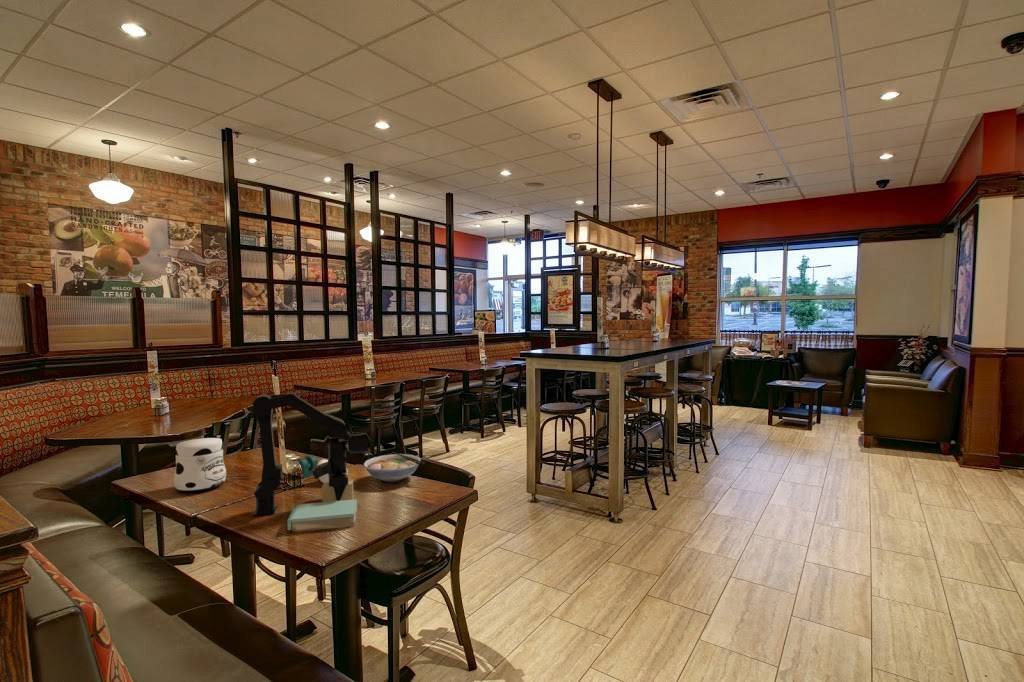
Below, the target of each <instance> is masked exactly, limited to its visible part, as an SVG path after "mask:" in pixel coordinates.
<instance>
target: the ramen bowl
mask: <svg viewBox="0 0 1024 682" xmlns="http://www.w3.org/2000/svg"><path fill="white" fill-rule="evenodd" d="M392 453H393V454H387V455H386V454H385V455H380V456H379V455H378V456H376V457H372V458H369V459H367V460H365V461H364V462H363V466H364V468H365V470H366V471H367V472H368V474H369V475H371V477H373V478H374V479H377V480H380V481H384V482H387V483H395V482H399V481H402V480H403V479H405V478H407V477H410V476H411V475H412V474H414V473H415V471H417V469H418V467H419V466H421V465H425V464H426V463H425V461H422V460H421V458H420V457H419V456H417V455H413V454H404V453H399V452H396V451H393V452H392Z"/></svg>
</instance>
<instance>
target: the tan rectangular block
mask: <svg viewBox="0 0 1024 682" xmlns="http://www.w3.org/2000/svg"><path fill="white" fill-rule="evenodd" d="M321 486H322V487H321V488H322V489H321V492H322V493H321V494H322V502H331V501H337V499H336V495H335V491H334V488H333V487H329V482H328V483H323V484H322V485H321ZM343 500H354V480H348V484H347V485H346V487H345V490H344V492H343V495H342V497H341V499H340V501H343Z"/></svg>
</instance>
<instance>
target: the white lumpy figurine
mask: <svg viewBox="0 0 1024 682" xmlns="http://www.w3.org/2000/svg"><path fill="white" fill-rule="evenodd" d="M325 462H328V459H321V460H319V461H318V464H317V466H318V465H320V464H322V463H325ZM346 471H347V473H346V475H347V476H349V471H348V467H346ZM343 474H344V473H343ZM318 480H320V482H321V483H323V484H324V483H328V482H329V475H328V473H327V474H325V475H323V476H321V477H319V478H318Z"/></svg>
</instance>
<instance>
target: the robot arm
mask: <svg viewBox="0 0 1024 682" xmlns="http://www.w3.org/2000/svg"><path fill="white" fill-rule="evenodd" d="M287 406H290V407H292V408H293V409H295V410H296V411H298V412H300V413H301V414H303V415H304V416H306V417H307V418H310V419H311V420H312V421H314V422H315V423H318V425H319V426H321V428H322V429H323V430H324V431H326V433H328V434H329V435H330V436H331V437H330V436H329V435H326V437H325V438H324V439H323V440H322V444H323V445H328V458H327V460H328V462H325V463H322V464H320V465H318V466H315V467H313V468H312V473H313V476H312V477H314V479H315V480H317V479H318V480H319V477H321V476H323V475H325V474H327V473H328V475H329V487H333V488H334V491H335V495H336V499H337V501H340V499H341V497H342V495H343V492H344V490H345V487H346V485H347V484H348V481H349V477H348V476H349V475H346V473H347V471H346V468H347V451H348V452H349V453H351V454H361V453H368V450H369V447H368V439H367V438H368V437H367V433H366V432H363V433H357V434H351V433H350V431H349V430H348V429H347V428H346V424H345V422H344V420H343V419H342V418H339V417H336V416H334V415H331V414H328V413H326V412H324V411H322V410H321V409H320V408H317V407H316V406H314V405H313V404H311V403H310V402H308V401H306V400H305V399H303V398H302V397H300V396H298V394H296V393H295V392H288V393H282V394H274V395H269V394H267V393H263V394H260V395H258V396H257V397H256V398H255V399H254V401H253V403H252V409H253V413H254V415H255V418H256V421H257V422H258V428H259V437H260V446H261V455H262V470H261V471H262V472H261V480H260V482H259V483H258V484H256V485H257V486H256V487H255V490H254V493H253V495H254V497H255V511H254V512H253V514H252V516H253V517H257V516H268V515H274V514H275V513H276V512H277V510H278V508H279V507H278V506H279V505H276V496H275V495H276V493H275V491H277V490H278V488H279V487H280V485H281V482H282V481H283V478H284V473H282V466H283V464H282V463H281V464H278V463H277V460H276V451H275V450H276V449H275V440H274V430H273V412H274V409H278V408H279V409H280V408H282V407H283V408H284V407H287ZM343 473H344V474H343Z"/></svg>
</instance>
